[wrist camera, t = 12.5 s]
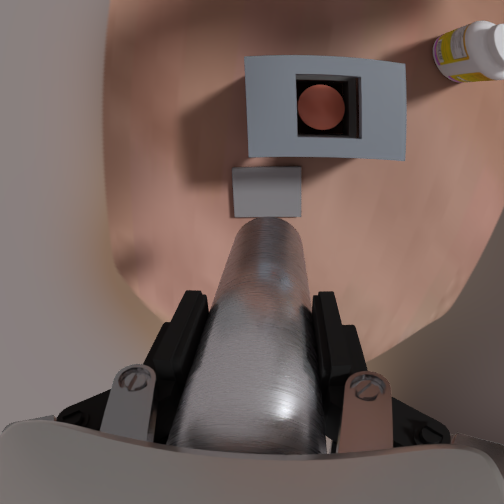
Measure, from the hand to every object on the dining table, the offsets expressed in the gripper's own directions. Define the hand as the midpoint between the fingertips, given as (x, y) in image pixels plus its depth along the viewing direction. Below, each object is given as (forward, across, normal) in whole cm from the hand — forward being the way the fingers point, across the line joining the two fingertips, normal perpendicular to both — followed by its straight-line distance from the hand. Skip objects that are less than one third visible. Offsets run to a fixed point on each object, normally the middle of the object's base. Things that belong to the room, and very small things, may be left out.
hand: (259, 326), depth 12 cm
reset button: (+27, -5, -8) cm, 28 cm away
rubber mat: (+28, +1, +2) cm, 28 cm away
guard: (+28, -5, -8) cm, 30 cm away
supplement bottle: (+28, -23, -17) cm, 40 cm away
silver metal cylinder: (+7, 0, 0) cm, 7 cm away
